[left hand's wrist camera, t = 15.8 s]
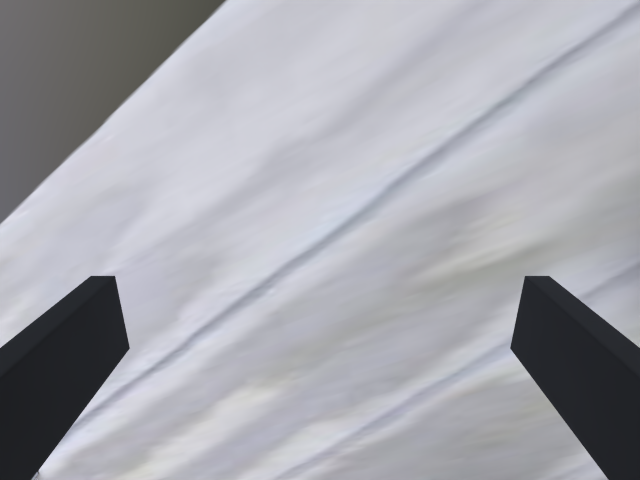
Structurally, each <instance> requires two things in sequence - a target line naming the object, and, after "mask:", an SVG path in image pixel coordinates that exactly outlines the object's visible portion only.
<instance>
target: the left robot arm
mask: <svg viewBox="0 0 640 480" xmlns="http://www.w3.org/2000/svg"><path fill="white" fill-rule="evenodd" d="M129 349H130V348H129V343H128V338H127V333H126V328H125V323H124V318H123V313H122V308H121V304H120V299H119V294H118V289H117V284H116V279H115V276H90V277H89V278H88V279H87V280H85V281H84V282H83V283H82V284H80V285H79V286H78V287H77V288H75V289H74V290H73V291H71V292H70V293H69V294H68V295H66V296H65V297H64V298H63V299H61V300H60V301H59V302H58V303H56V304H55V305H54V306H53V307H51V308H50V309H49V310H48V311H46V312H45V313H44V314H43V315H41V316H40V317H39V318H38V319H36V320H35V321H34V322H32V323H31V324H30V325H29V326H27V327H26V328H25V329H24V330H22V331H21V332H20V333H19V334H17V335H16V336H15V337H14V338H12V339H11V340H10V341H9V342H7V343H6V344H5V345H4V346H2V347H1V348H0V480H31V479H32V478H33V477H34V475H35V474H36V473H37V471H38V470H39V469H40V467H41V466H42V465H43V463H44V462H45V461H46V459H47V458H48V457H49V455H50V454H51V453H52V451H53V450H54V449H55V447H56V446H57V445H58V443H59V442H60V441H61V439H62V438H63V437H64V435H65V434H66V433H67V431H68V430H69V429H70V427H71V426H72V425H73V423H74V422H75V421H76V419H77V418H78V417H79V415H80V414H81V413H82V411H83V410H84V409H85V407H86V406H87V405H88V403H89V402H90V401H91V399H92V398H93V397H94V395H95V394H96V393H97V391H98V390H99V389H100V387H101V386H102V385H103V383H104V382H105V381H106V379H107V378H108V377H109V375H110V374H111V373H112V371H113V370H114V369H115V367H116V366H117V365H118V363H119V362H120V361H121V359H122V358H123V357H124V355H125V354H126V353H127V351H128V350H129ZM510 349H511V350H512V351H513V353H514V354H515V355H516V357H517V358H518V359H519V361H520V362H521V363H522V365H523V366H524V367H525V369H526V370H527V371H528V373H529V374H530V375H531V377H532V378H533V379H534V381H535V382H536V383H537V385H538V386H539V387H540V389H541V390H542V391H543V393H544V394H545V395H546V397H547V398H548V399H549V401H550V402H551V403H552V405H553V406H554V407H555V409H556V410H557V411H558V413H559V414H560V415H561V417H562V418H563V419H564V421H565V422H566V423H567V425H568V426H569V427H570V429H571V430H572V431H573V433H574V434H575V435H576V437H577V438H578V439H579V441H580V442H581V443H582V445H583V446H584V447H585V449H586V450H587V451H588V453H589V454H590V455H591V457H592V458H593V459H594V461H595V462H596V463H597V465H598V466H599V467H600V469H601V470H602V471H603V473H604V474H605V475H606V477H607V478H608V479H609V480H640V348H639V347H638V346H636V345H635V344H634V343H633V342H631V341H630V340H629V339H628V338H626V337H625V336H624V335H623V334H621V333H620V332H619V331H618V330H616V329H615V328H614V327H613V326H611V325H610V324H609V323H608V322H606V321H605V320H604V319H602V318H601V317H600V316H599V315H597V314H596V313H595V312H594V311H592V310H591V309H590V308H589V307H587V306H586V305H585V304H584V303H582V302H581V301H580V300H579V299H577V298H576V297H575V296H574V295H572V294H571V293H570V292H569V291H567V290H566V289H565V288H563V287H562V286H561V285H560V284H558V283H557V282H556V281H555V280H553V279H552V278H551V277H550V276H525V279H524V284H523V289H522V294H521V299H520V304H519V308H518V313H517V318H516V323H515V328H514V333H513V338H512V343H511V348H510Z"/></svg>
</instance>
